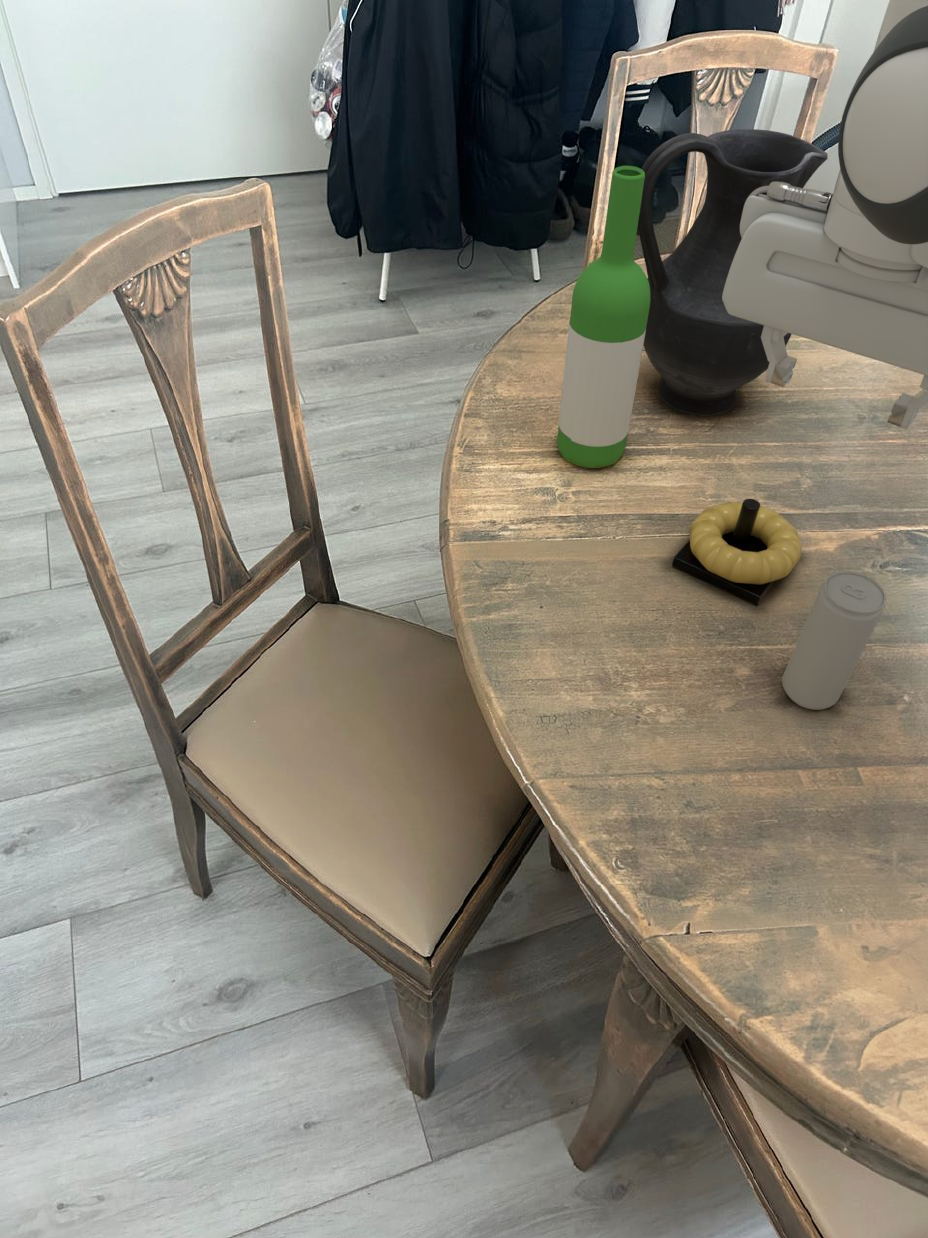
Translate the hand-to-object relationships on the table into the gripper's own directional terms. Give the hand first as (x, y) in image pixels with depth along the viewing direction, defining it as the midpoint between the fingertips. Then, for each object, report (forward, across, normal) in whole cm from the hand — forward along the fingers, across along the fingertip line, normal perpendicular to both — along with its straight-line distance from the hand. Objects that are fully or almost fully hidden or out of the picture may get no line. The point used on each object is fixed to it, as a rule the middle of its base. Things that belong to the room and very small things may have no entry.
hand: (836, 401), depth 66 cm
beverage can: (+23, +7, -6) cm, 25 cm away
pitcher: (+22, -24, +29) cm, 43 cm away
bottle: (+22, -27, +12) cm, 37 cm away
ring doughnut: (+20, -5, +5) cm, 21 cm away
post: (+22, -6, +5) cm, 24 cm away
